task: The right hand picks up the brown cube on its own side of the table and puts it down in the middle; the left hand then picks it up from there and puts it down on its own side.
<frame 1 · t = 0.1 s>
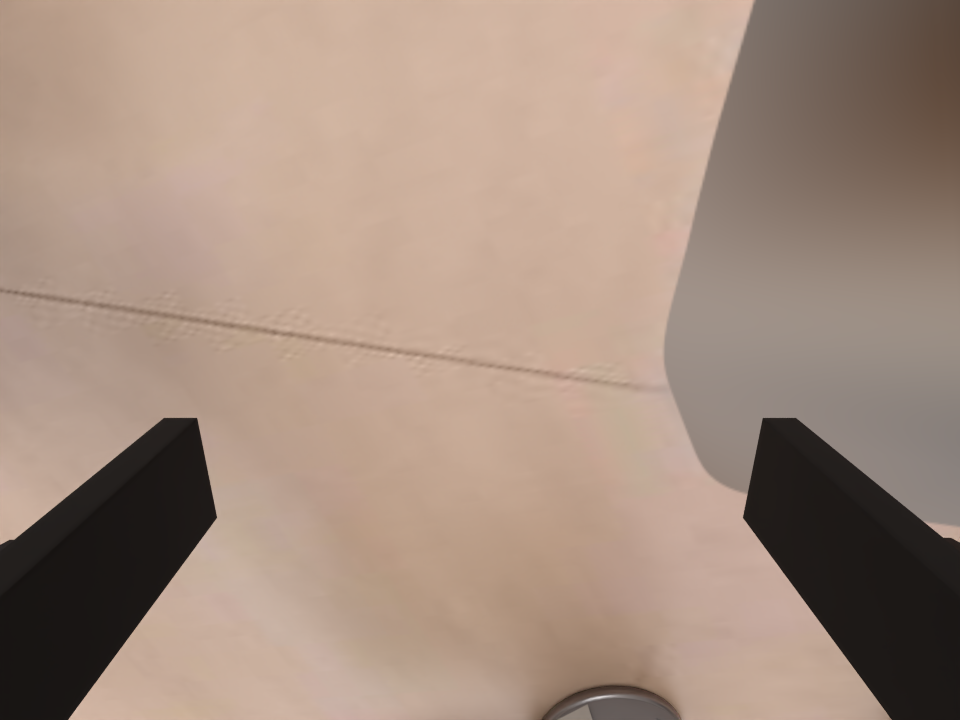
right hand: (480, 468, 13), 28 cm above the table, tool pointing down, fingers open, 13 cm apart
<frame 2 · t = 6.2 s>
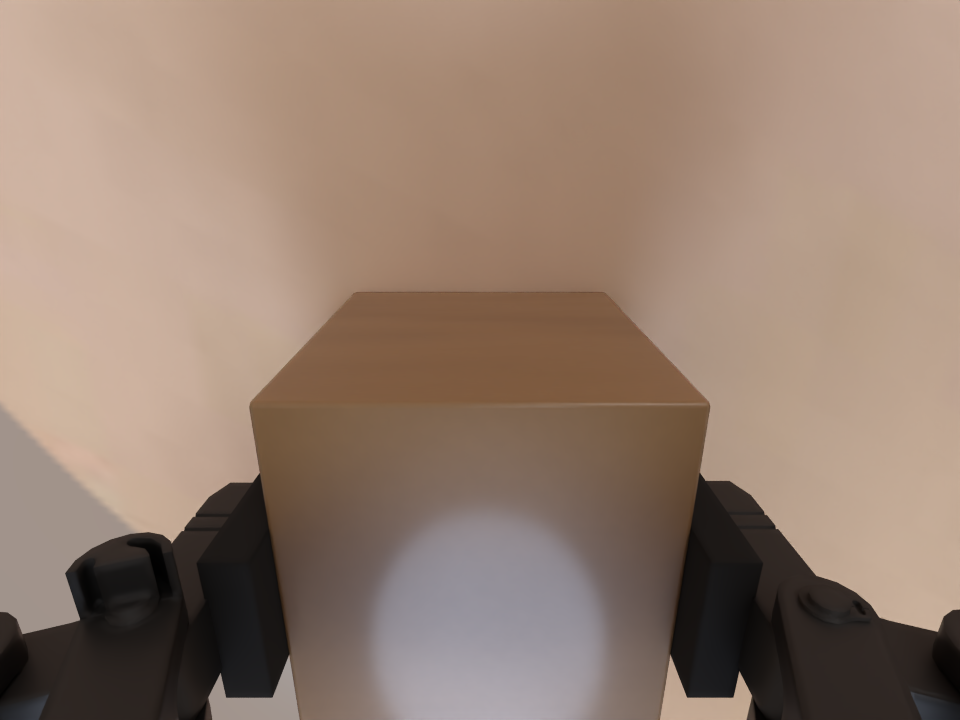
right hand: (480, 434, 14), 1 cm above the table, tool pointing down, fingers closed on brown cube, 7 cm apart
brown cube: (479, 411, 16), on the table, touching right hand
when the right hand's fingers open (3 cm above the table, at t = 12.4 s): brown cube drops 2 cm, on the table.
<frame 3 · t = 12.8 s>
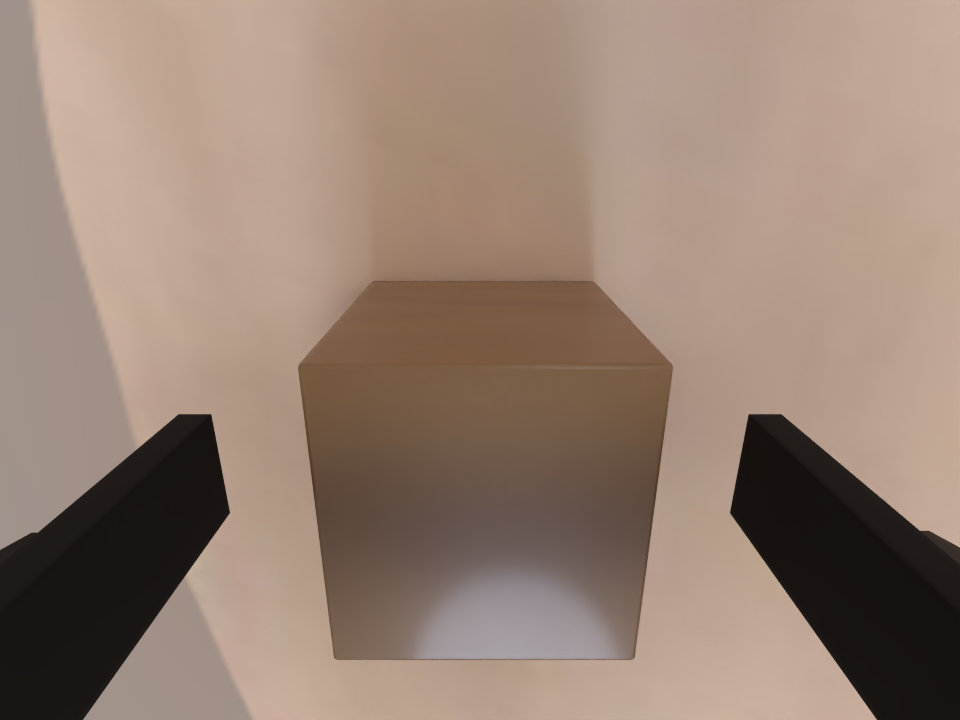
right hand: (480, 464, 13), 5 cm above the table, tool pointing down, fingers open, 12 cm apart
brown cube: (482, 389, 18), on the table
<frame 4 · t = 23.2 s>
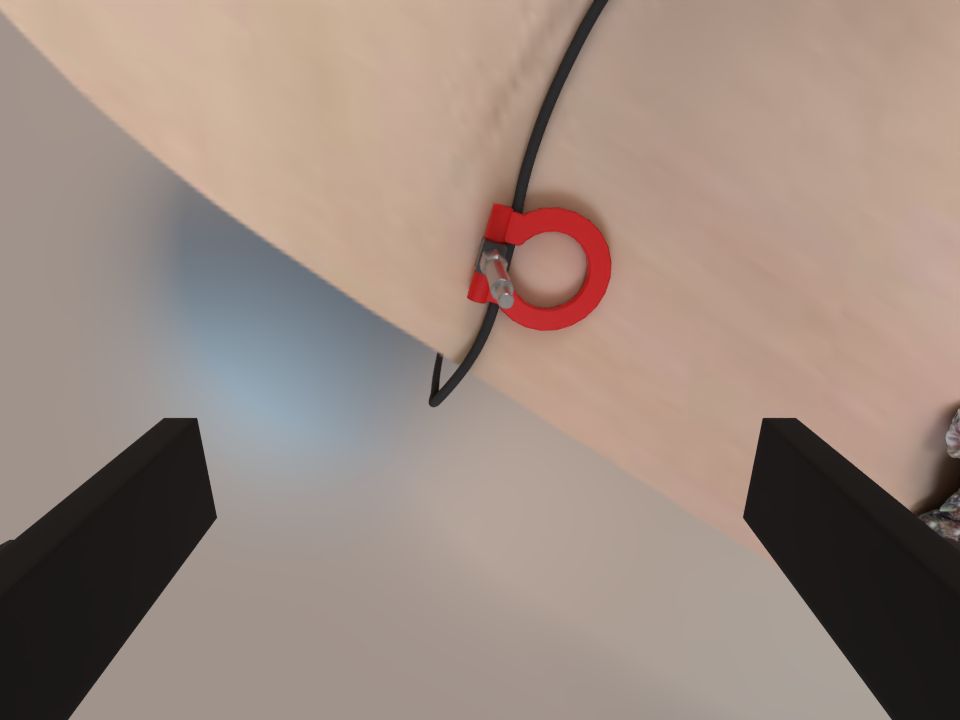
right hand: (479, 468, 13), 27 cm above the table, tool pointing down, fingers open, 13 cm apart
tow hook: (542, 266, 38), on the table
when the left hand's fingers open (3 cm above the table, at t = 32.9 s): brown cube drops 2 cm, on the table.
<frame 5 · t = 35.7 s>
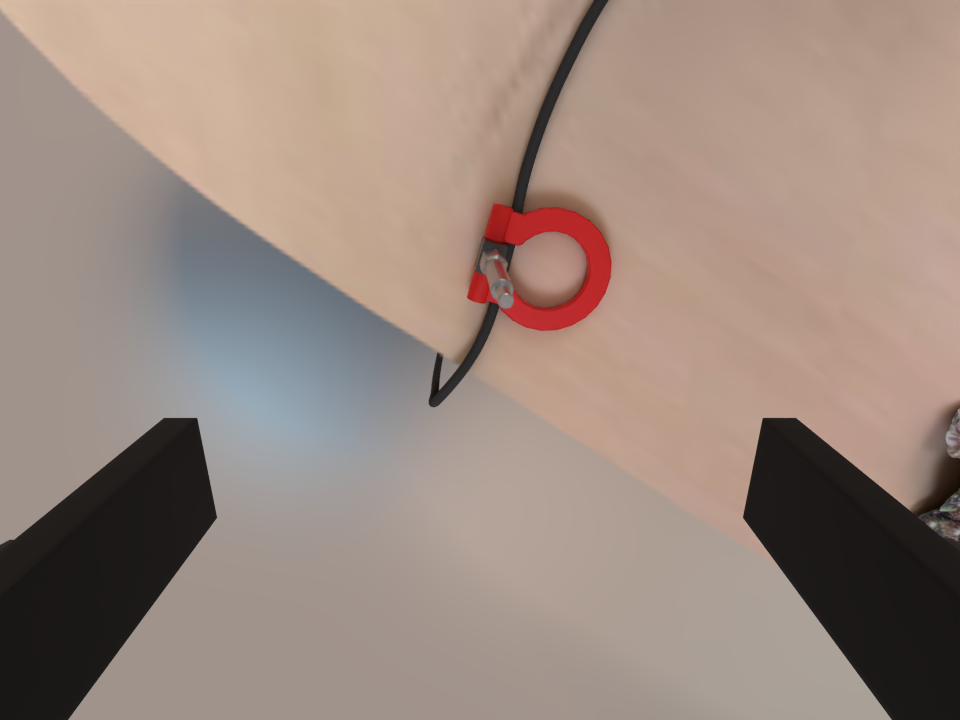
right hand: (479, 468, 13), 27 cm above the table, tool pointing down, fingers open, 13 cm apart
tow hook: (542, 266, 38), on the table
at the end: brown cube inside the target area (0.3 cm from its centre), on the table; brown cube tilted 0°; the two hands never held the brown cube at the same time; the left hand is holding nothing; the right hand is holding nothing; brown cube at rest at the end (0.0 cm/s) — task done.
